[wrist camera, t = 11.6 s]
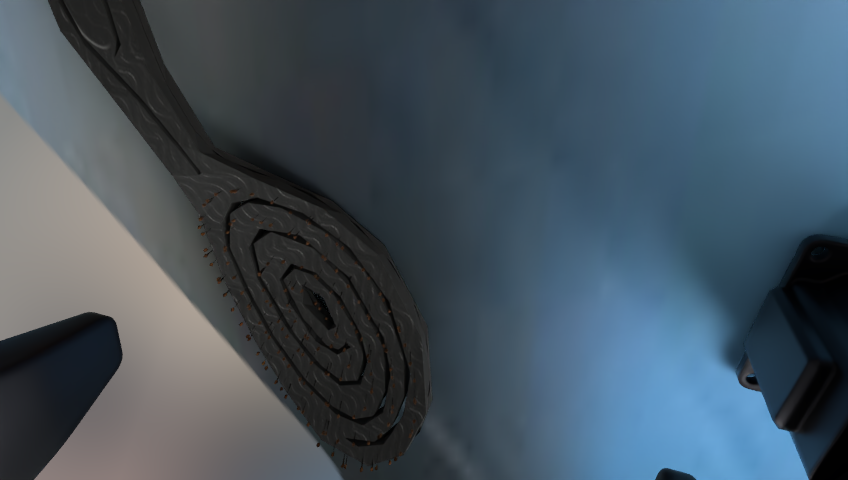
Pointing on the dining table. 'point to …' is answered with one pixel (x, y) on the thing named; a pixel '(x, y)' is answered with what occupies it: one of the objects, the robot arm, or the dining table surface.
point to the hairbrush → (277, 254)
